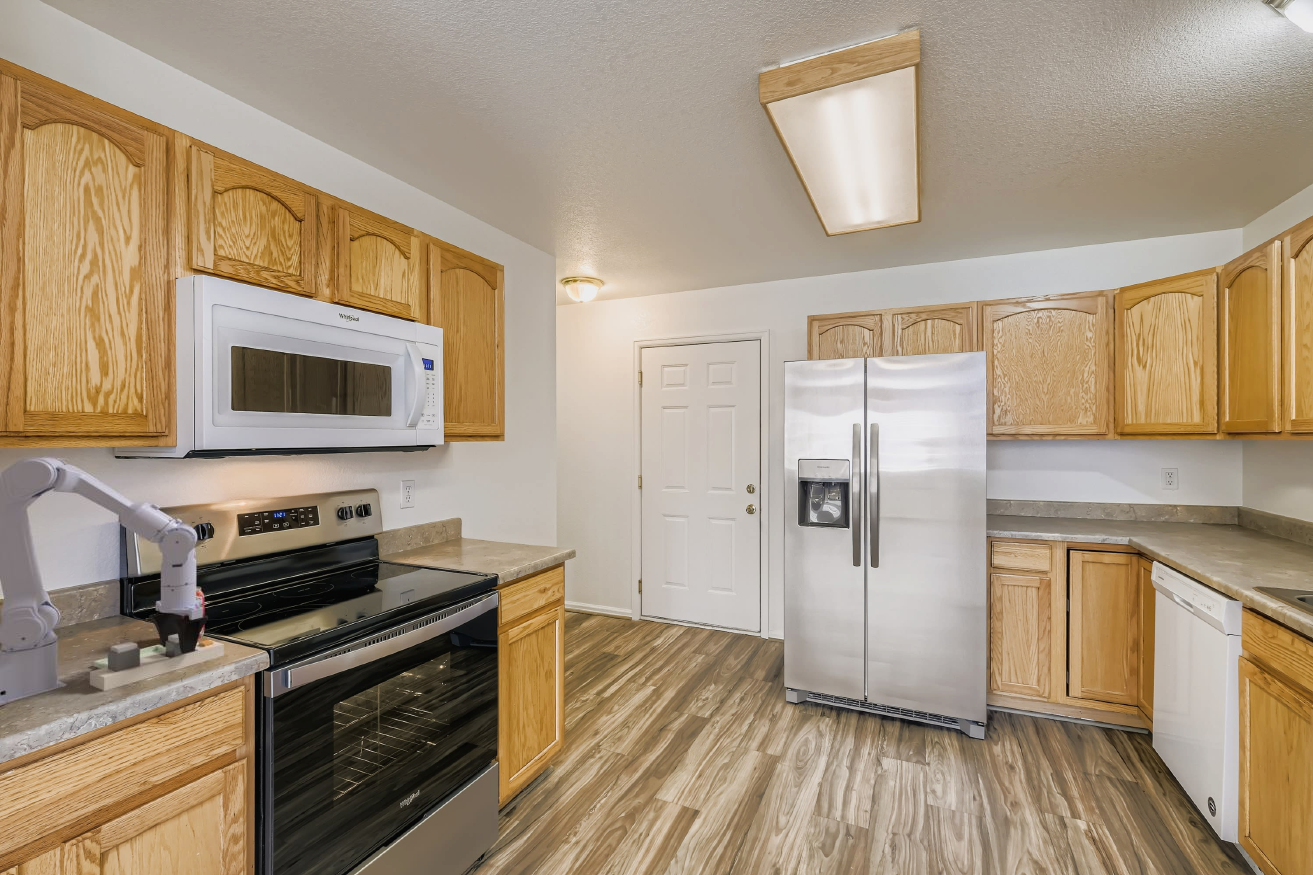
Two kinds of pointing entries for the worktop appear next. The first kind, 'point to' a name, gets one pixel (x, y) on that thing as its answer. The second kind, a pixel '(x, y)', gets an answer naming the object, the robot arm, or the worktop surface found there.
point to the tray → (143, 653)
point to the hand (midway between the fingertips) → (178, 648)
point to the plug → (173, 647)
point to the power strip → (147, 664)
